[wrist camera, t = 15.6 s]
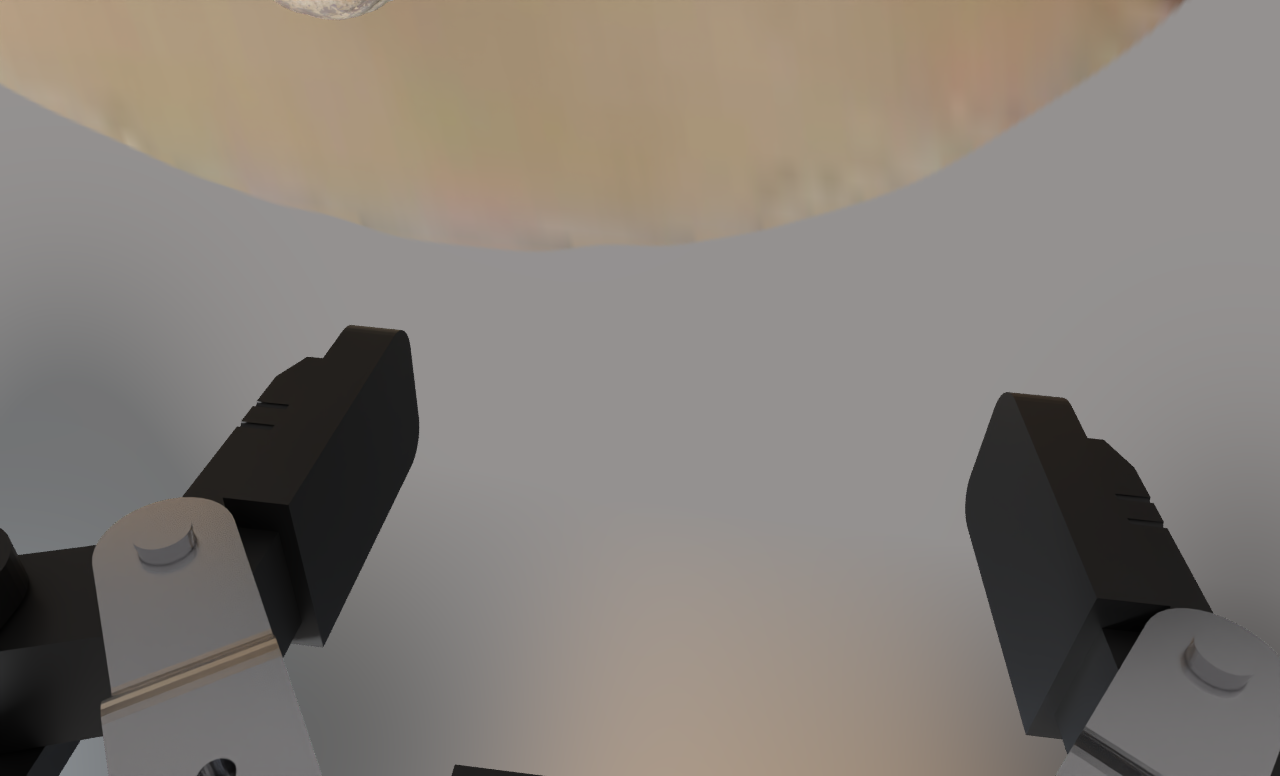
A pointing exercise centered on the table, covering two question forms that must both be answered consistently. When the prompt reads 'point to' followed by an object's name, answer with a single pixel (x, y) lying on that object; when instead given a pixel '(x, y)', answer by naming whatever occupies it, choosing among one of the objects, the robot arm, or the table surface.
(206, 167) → the table surface
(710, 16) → the table surface
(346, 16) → the carving
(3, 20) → the table surface
